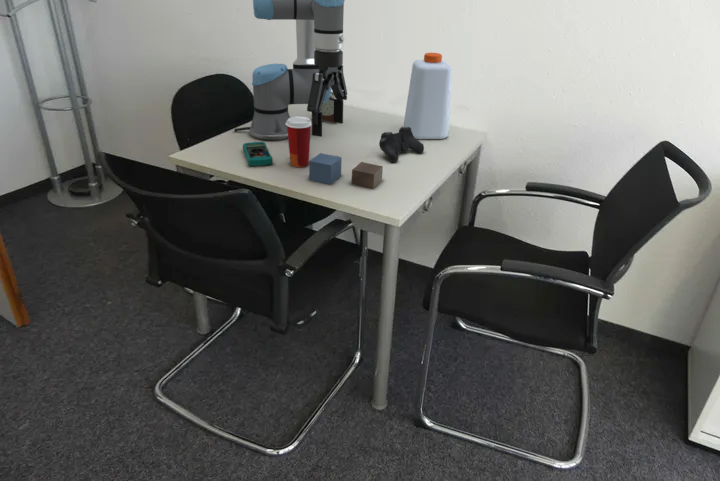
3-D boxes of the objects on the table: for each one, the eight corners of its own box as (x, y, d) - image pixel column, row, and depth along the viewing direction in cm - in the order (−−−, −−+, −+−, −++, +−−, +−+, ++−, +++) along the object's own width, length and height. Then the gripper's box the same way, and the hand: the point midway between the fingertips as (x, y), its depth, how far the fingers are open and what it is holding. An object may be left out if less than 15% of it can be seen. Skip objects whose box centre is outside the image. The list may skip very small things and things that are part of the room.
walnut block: (351, 184, 152) (351, 169, 149) (360, 175, 157) (361, 161, 155) (373, 188, 149) (374, 174, 147) (381, 180, 155) (382, 166, 153)
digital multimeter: (249, 167, 159) (248, 158, 158) (242, 150, 171) (242, 142, 170) (273, 165, 161) (273, 156, 160) (265, 149, 173) (264, 140, 172)
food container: (346, 120, 203) (347, 94, 198) (337, 124, 198) (338, 98, 193) (320, 114, 208) (320, 89, 203) (311, 118, 204) (311, 92, 199)
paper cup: (314, 160, 166) (313, 116, 159) (309, 169, 160) (309, 124, 153) (289, 158, 167) (288, 115, 160) (284, 167, 160) (282, 122, 153)
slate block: (309, 180, 153) (309, 160, 150) (320, 171, 159) (320, 152, 156) (330, 184, 151) (331, 165, 148) (341, 176, 156) (341, 157, 153)
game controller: (412, 155, 181) (404, 126, 179) (426, 151, 176) (418, 121, 174) (379, 166, 171) (370, 136, 169) (393, 162, 166) (384, 131, 164)
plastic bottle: (440, 126, 201) (449, 50, 187) (450, 140, 188) (461, 59, 174) (401, 126, 199) (407, 49, 185) (409, 140, 186) (416, 58, 172)
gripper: (319, 59, 126) (320, 144, 136) (360, 44, 146) (357, 119, 156) (292, 55, 128) (294, 139, 139) (335, 41, 148) (334, 115, 159)
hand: (328, 128), depth 148 cm, fingers open, 13 cm apart
